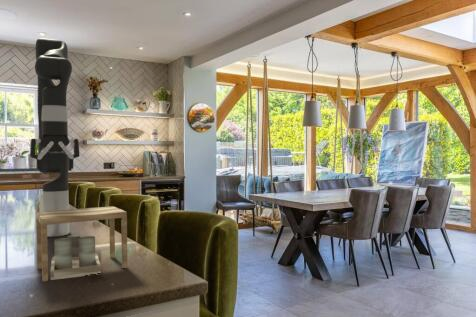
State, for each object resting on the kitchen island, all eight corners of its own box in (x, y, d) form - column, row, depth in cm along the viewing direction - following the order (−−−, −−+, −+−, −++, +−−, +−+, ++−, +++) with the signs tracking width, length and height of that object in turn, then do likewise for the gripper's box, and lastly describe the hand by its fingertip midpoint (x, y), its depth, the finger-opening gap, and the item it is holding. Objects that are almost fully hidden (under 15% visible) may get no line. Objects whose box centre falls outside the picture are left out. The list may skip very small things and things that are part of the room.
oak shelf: (36, 268, 110) (36, 212, 110) (113, 257, 122) (113, 206, 121) (42, 281, 99) (41, 219, 98) (127, 268, 110) (126, 211, 109)
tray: (52, 260, 120) (52, 230, 120) (94, 255, 125) (94, 226, 125) (50, 281, 100) (49, 245, 100) (101, 275, 105) (100, 240, 105)
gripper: (30, 119, 121) (31, 172, 121) (80, 120, 128) (81, 171, 129) (28, 120, 127) (29, 171, 128) (76, 121, 135) (76, 169, 135)
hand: (55, 171), depth 128 cm, fingers open, 8 cm apart
